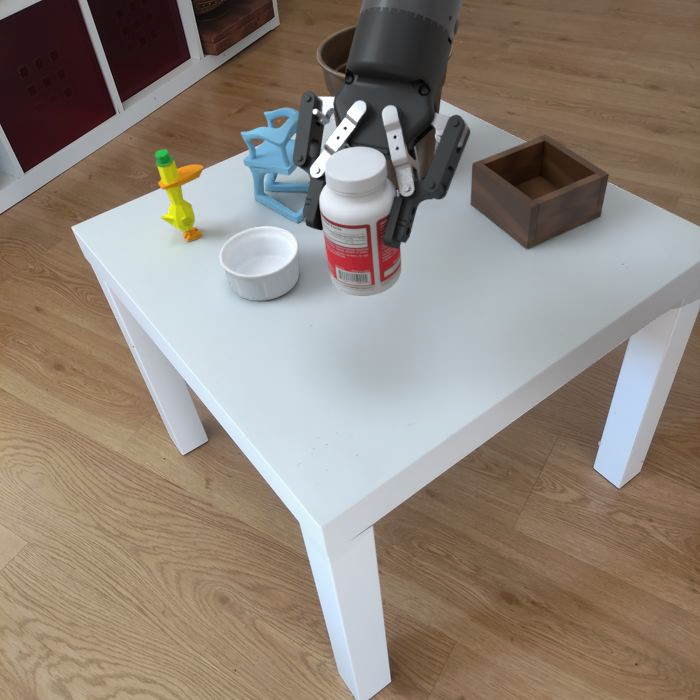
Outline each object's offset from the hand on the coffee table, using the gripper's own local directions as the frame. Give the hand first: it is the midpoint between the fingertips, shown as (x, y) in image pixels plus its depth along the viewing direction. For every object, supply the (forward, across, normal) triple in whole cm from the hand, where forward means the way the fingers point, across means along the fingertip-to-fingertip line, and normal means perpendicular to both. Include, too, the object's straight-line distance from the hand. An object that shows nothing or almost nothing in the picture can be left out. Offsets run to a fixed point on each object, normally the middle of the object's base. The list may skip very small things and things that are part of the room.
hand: (352, 236), depth 57 cm
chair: (-5, -24, +31) cm, 39 cm away
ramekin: (+6, -18, +20) cm, 28 cm away
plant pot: (-13, -14, +39) cm, 44 cm away
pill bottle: (+3, 0, +5) cm, 6 cm away
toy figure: (+3, -31, +23) cm, 39 cm away
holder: (-11, +7, +37) cm, 39 cm away
